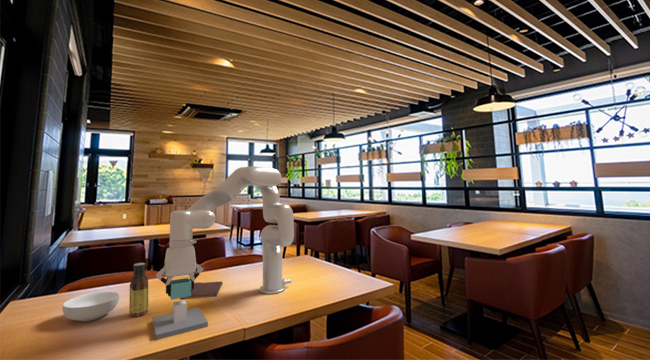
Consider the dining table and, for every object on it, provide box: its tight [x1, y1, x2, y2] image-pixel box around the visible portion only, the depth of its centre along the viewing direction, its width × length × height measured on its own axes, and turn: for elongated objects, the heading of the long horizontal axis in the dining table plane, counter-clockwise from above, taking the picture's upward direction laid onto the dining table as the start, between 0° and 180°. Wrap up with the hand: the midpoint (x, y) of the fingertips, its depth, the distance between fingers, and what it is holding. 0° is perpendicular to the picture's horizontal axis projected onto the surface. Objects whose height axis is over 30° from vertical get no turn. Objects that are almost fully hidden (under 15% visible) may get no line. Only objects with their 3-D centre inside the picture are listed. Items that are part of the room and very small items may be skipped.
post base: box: [151, 299, 209, 341], centre depth 102 cm, size 16×16×8 cm
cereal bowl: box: [62, 291, 120, 322], centre depth 109 cm, size 17×17×7 cm
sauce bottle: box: [128, 262, 149, 318], centre depth 111 cm, size 6×6×20 cm
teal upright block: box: [169, 277, 191, 300], centre depth 103 cm, size 6×6×5 cm
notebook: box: [180, 281, 223, 300], centre depth 138 cm, size 15×20×2 cm
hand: (180, 292), depth 103 cm, fingers closed on teal upright block, 6 cm apart
